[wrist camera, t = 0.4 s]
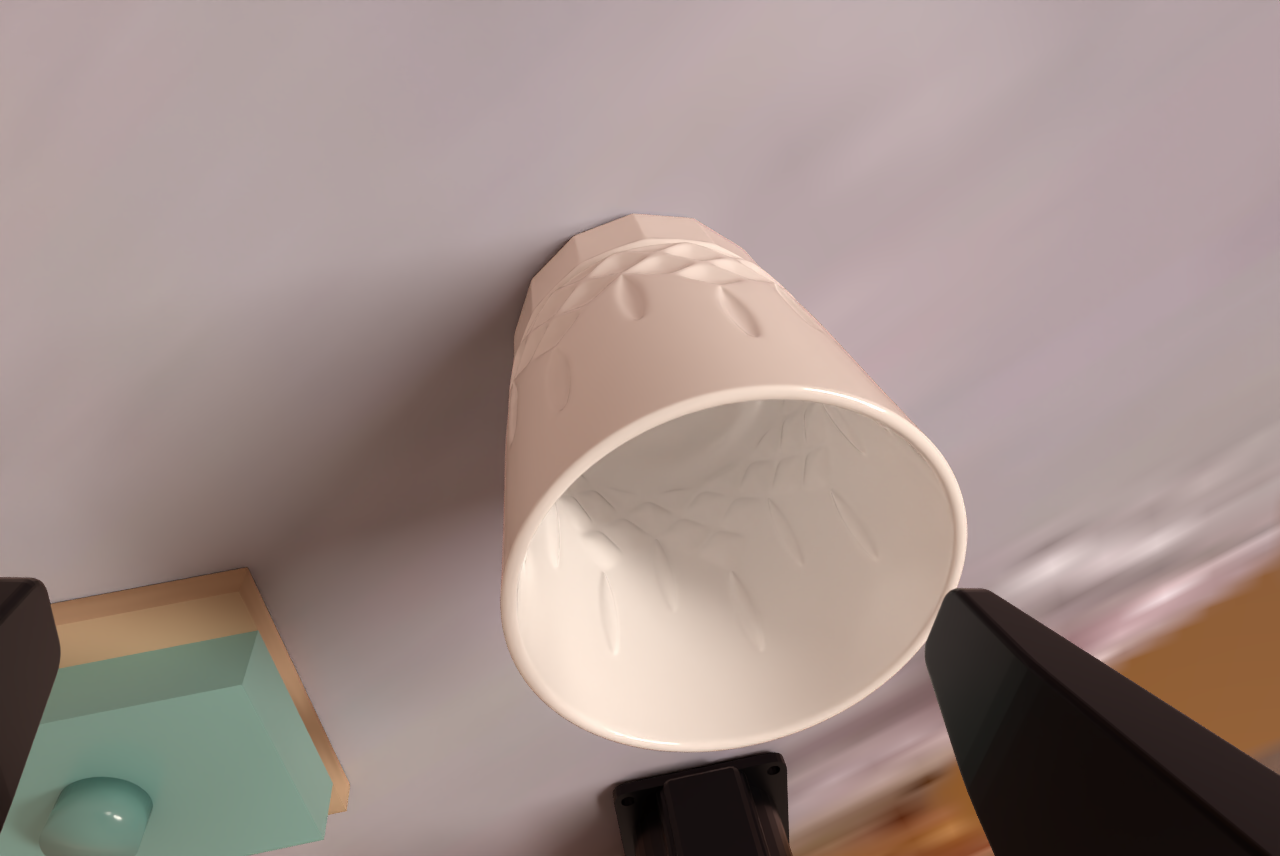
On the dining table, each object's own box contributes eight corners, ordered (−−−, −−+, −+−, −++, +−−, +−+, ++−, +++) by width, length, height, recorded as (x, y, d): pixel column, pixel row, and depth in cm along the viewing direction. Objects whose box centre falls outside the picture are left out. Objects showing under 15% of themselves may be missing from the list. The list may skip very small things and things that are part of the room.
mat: (350, 785, 30) (346, 810, 29) (50, 846, 29) (37, 875, 28) (247, 567, 25) (239, 591, 24) (-123, 636, 24) (-145, 663, 23)
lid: (332, 783, 28) (317, 877, 26) (15, 848, 28) (-35, 952, 25) (258, 630, 25) (231, 721, 22) (-112, 701, 24) (-187, 804, 21)
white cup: (558, 499, 25) (599, 804, 17) (439, 256, 21) (413, 502, 12) (816, 403, 25) (990, 666, 16) (749, 137, 21) (936, 309, 12)
